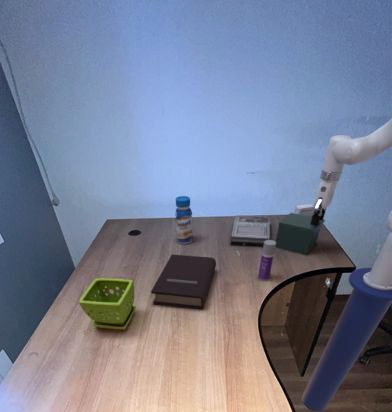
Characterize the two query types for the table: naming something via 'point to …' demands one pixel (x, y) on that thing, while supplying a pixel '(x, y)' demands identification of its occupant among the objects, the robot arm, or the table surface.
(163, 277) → the book
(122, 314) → the flower pot
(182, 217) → the beverage bottle
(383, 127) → the robot arm
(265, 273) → the container
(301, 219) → the lid
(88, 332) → the table surface
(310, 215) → the ink box
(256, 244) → the hard drive
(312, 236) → the chest
